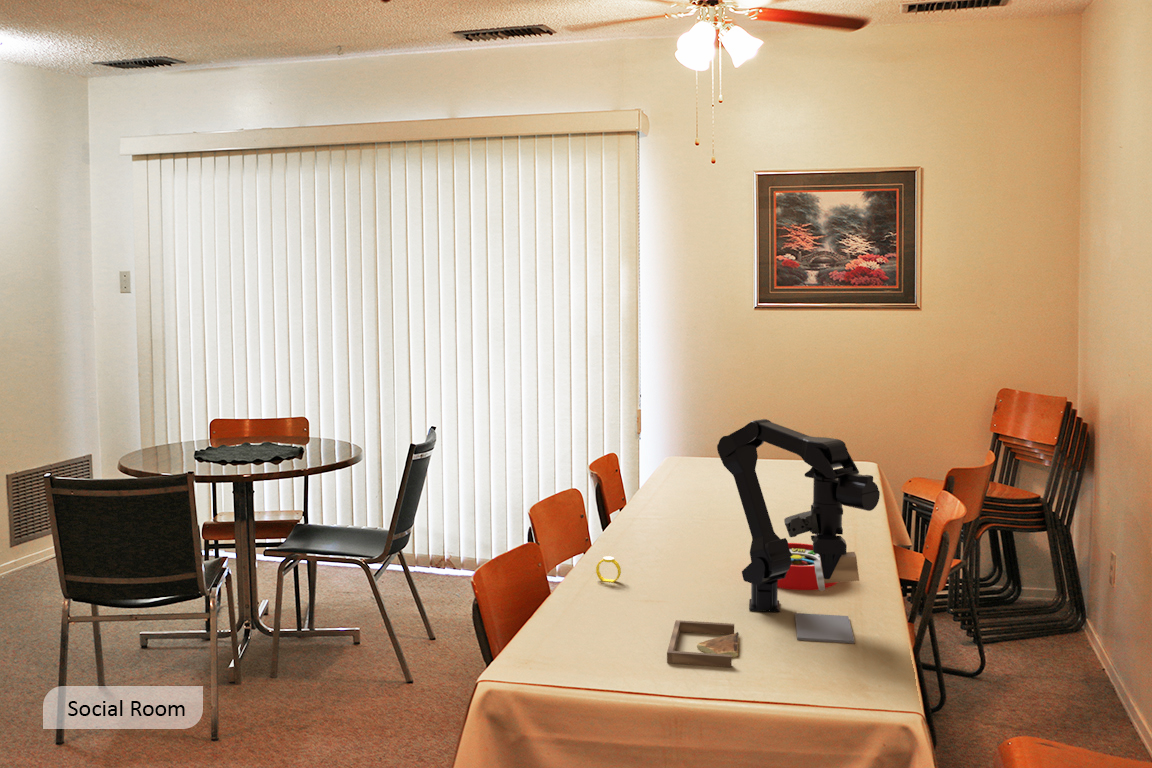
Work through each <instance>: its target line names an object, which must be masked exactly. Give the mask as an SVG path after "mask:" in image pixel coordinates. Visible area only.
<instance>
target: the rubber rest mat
mask: <svg viewBox="0 0 1152 768" xmlns="http://www.w3.org/2000/svg"><path fill="white" fill-rule="evenodd" d="M794 616H795V617H794V618H795V629H796V638H797V641H810V642H824V643H840V644H841V643H844V644H855V642H856V641H855V637H854V634H853V629H852V625H851V622H850V618H849V617H850V616H849V615H841V614H840V615H839V614H838V615H837V614H823V613H822V614H821V613H806V612H805V613H801V612H795V613H794Z"/></svg>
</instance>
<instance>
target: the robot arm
mask: <svg viewBox="0 0 1152 768" xmlns="http://www.w3.org/2000/svg"><path fill="white" fill-rule="evenodd" d="M764 443H767V444H770V445H772V446H775V447H777V448H781V449H782V450H785V451H788V452H790V453H792V454H796V455H798V456H799V457H800V458H801V459H802V460H803V462H804V463H805V464H807V465H808V466H810V467H811V468H810V469H809V470H808V471H806V472H805V473H804V477H806V478H810V479H813V487H812V488H813V494H812V495H813V497H812V499H813V500H812V504H811V505H810V510H808V511H803V512H799V513H796V514H793V515H790V516H787V517H785V518H784V519H783V520H784V526H785V528H786V530H787V533H788V536H789V537H790V538H794V537H797V536H798V535H802V534H804V533H808V532H809V533H811V534H812V535H810V539H811V541H812V545H813V552H814V553H816V554H819V555H820V557H821V563H822V569H823V574H824V579H830V578H831V576H832V574H833V571H834V569H835V567H836V565H837V563H838V561H839V559H840V557H841V556H842V555H845V554H846V552H847V542H846V539H844V537H843V533H844V532H843V531H844V530H843V515H844V508H843V506H845V507H849V508H853V509H859V510H863V511H868V512H872V511H873V510H875V508H876V507H877V506H878V503H879V501H880V496H881V493H880V490H879V487H878V485H877V484H876V482H874V475H869V474H860V470H859V469H858V467H857V465H856V463H855V461H854V460H853V458H852V456H851V454H850V453H849V451H848V448H847V446H846V443H845V442H844V441H843V440H841V439H838V438H833V437H827V436H826V437H824V436H823V437H821V436H813V435H807V434H805V433H802V432H800V431H797V430H794V429H791V428H788V427H786V426H783V425H780V424H777V423H774V422H772V421H770V420H769V419H766V418H763V419H754V420H751V421H750V422H749V423H747V424H746V425H745V426H743V427H741V428H739V429H737V430H735V431H733V432H732V433H730V434H728V435H723V436H722V437H720V439H719V441H718V444H717V445H716V449H717V450H716V451H717V453H718V456H719V458H720V460H721V462H722V464H723V466H724V468H725V469H726V470H728V472H729V473H731V475H732V476H733V479H734V481H735V485H736V488H737V492H738V495H739V498H740V502H741V506H742V509H743V512H744V515H745V518H746V522H747V526H748V529H749V531H750V532H749V533H750V534H751V544H750V550H749V556H750V563H749V564H748V565H747V566H746V567H745V568H744V569H742V571H741V575H742V578H743V581H744V582H747V583H749V584H750V585H751V588H750V590H751V591H750V594H751V596H750V597H751V598H749V599H748V600H749V606H748V610H749V611H756V612H770V613H780V600H779V598H778V595H779V594H778V589H779V588H778V580H779V579H784V578H785V577H786V574H787V571H788V570H789V569H790V566H791V565H792V561H791V556H792V554H791V552H790V550H789V546H788V543H789V542H788V540H787V538H786V537H784V538H780V537H779V535H777V534H776V532H775V531H774V527H773V523H772V521H771V518H770V514H769V511H768V507H767V503H766V501H765V498H764V495H763V491H762V488H761V485H760V481H759V478H758V475H757V472H756V468H757V462H758V457H759V455H758V450H757V449H758V448H760V446H762V445H763V444H764Z"/></svg>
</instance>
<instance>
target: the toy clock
mask: <svg viewBox="0 0 1152 768" xmlns="http://www.w3.org/2000/svg"><path fill="white" fill-rule="evenodd" d="M788 546H789V550H790V552H791V554H792V556H791V561H792V565H791V566H790V569H789V570H788V571H787V574H786V577H785V578H784V579H779V580H778V589H785V590H790V591H792V590H794V591H816V590H817V591H818V590H819V588H818V583H817V578H816V573H815V566H814V561H815V560H820V555H819V554H816V553H814V552H813V544H809V543H801V542H788ZM820 564H821V562H820ZM837 583H839V582H835V583H824V584H825V589H828V588H831V587H833V586H836V584H837Z"/></svg>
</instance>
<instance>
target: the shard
mask: <svg viewBox="0 0 1152 768" xmlns="http://www.w3.org/2000/svg"><path fill="white" fill-rule="evenodd" d="M739 635H740V634H739V632H738V631H737V632H734V634H730V635H723V636H718V637H714V638H711V639H708V640H704V641H701V642H699V643H698V644H697V645H696V648H697V650H698V651H701V653H712V654H727V655H732V658H733V657H734V658H737V657H738V655H739Z"/></svg>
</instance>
